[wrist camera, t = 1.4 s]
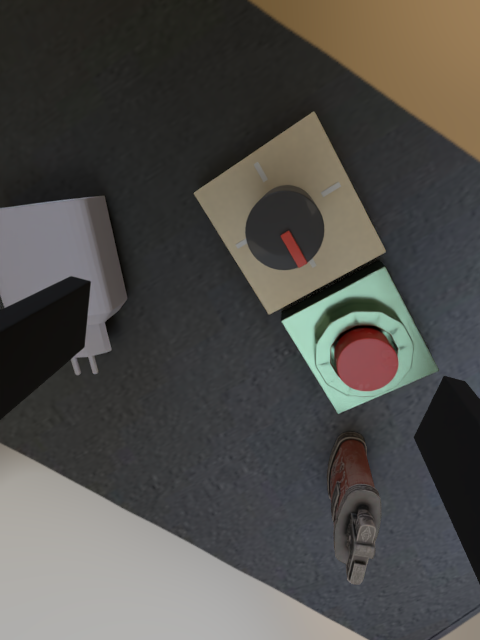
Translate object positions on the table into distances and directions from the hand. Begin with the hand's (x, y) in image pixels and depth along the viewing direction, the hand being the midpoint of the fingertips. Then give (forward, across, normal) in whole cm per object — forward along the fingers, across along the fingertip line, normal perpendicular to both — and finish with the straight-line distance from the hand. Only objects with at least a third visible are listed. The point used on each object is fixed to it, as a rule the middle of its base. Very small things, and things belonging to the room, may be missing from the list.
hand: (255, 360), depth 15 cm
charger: (+20, -16, -7) cm, 27 cm away
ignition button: (+16, +9, -5) cm, 19 cm away
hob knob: (+17, 0, +3) cm, 17 cm away
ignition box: (+20, +8, -5) cm, 22 cm away
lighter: (+20, +12, -18) cm, 30 cm away
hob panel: (+20, 0, +3) cm, 20 cm away
